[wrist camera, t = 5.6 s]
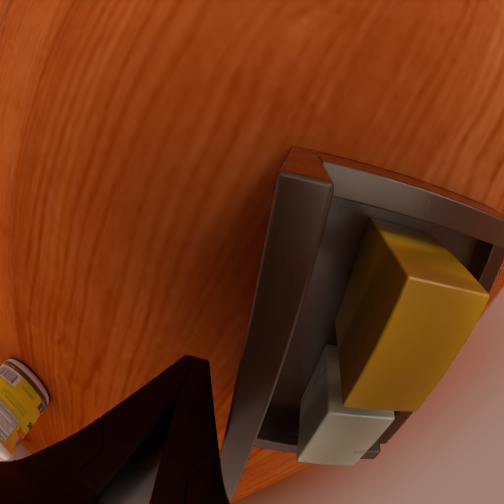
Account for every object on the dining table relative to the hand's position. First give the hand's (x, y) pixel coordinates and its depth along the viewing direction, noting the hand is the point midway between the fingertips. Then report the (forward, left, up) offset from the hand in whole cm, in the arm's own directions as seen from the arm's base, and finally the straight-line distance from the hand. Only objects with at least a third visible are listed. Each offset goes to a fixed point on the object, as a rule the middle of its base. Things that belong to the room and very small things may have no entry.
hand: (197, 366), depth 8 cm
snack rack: (-5, 0, -4) cm, 7 cm away
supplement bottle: (+17, +15, -4) cm, 23 cm away
